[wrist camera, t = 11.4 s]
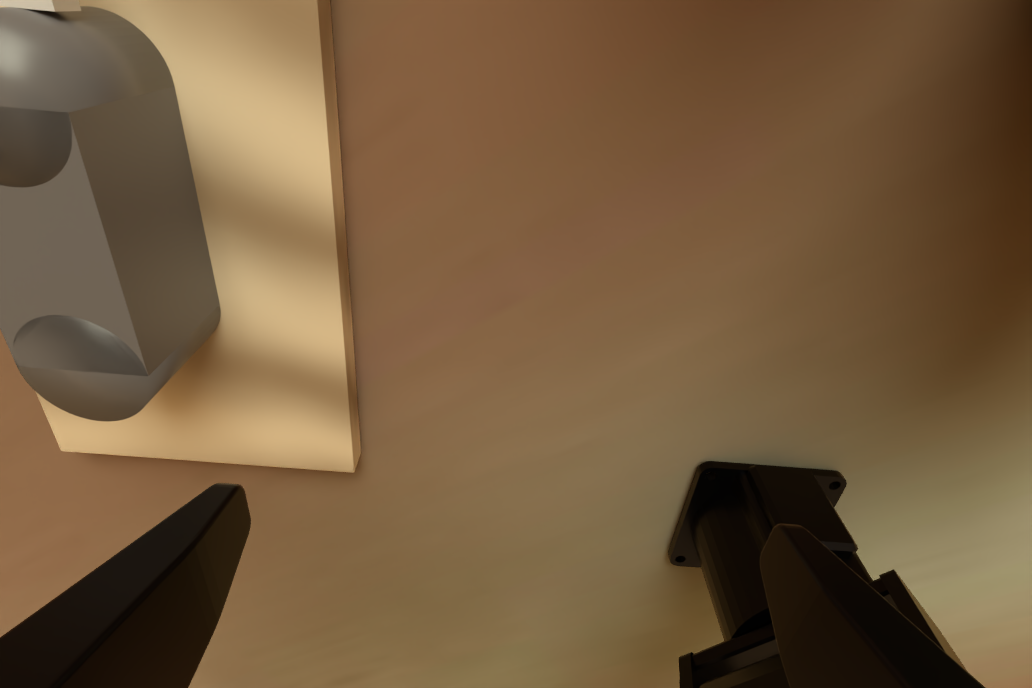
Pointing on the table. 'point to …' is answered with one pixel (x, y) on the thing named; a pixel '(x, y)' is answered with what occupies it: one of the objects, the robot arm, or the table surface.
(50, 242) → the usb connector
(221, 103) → the birch board
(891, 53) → the table surface
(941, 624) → the table surface
